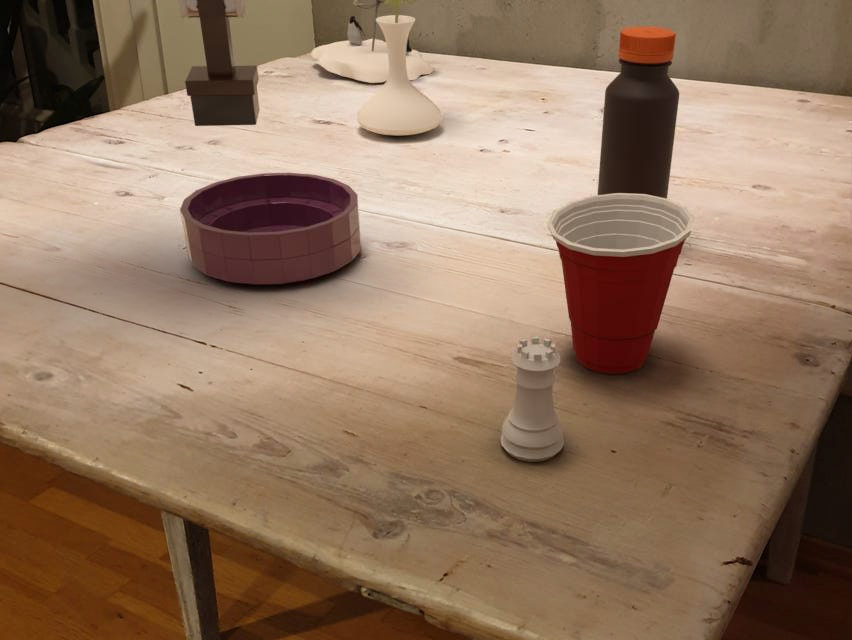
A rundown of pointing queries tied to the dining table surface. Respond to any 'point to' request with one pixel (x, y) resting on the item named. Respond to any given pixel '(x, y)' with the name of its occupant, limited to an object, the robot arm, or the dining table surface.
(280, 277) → the bowl
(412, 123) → the flower in vase
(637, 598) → the dining table surface
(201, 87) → the brush
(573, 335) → the plastic cup
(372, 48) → the figurine
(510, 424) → the rook chess piece
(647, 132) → the bottle
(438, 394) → the dining table surface
